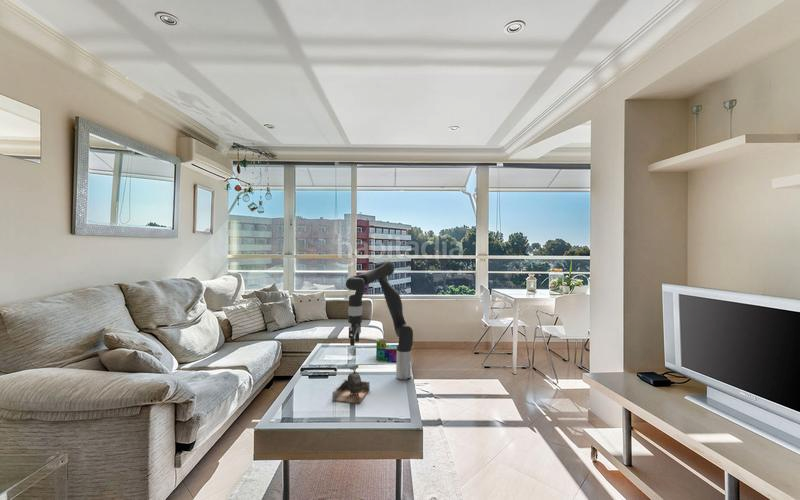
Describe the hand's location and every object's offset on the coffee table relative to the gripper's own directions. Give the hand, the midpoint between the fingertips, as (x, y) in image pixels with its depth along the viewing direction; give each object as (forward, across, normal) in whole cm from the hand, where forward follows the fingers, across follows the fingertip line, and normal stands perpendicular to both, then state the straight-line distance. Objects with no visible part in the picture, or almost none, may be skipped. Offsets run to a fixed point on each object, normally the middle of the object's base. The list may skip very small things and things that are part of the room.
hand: (354, 343), depth 209 cm
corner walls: (+29, 0, -2) cm, 29 cm away
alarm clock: (+28, 0, 0) cm, 28 cm away
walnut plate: (+29, 0, -2) cm, 29 cm away
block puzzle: (+30, -72, +7) cm, 79 cm away
